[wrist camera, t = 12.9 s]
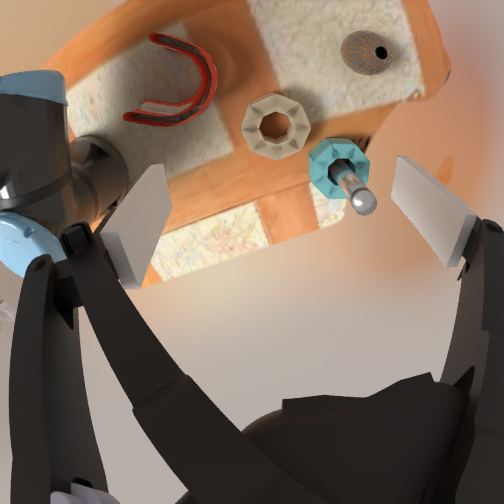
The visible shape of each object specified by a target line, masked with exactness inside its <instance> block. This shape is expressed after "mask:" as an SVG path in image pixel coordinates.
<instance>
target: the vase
mask: <svg viewBox="0 0 504 504" xmlns="http://www.w3.org/2000/svg"><path fill="white" fill-rule="evenodd" d="M341 55H342V58H343V60H344V62H345V63H346V64H347V66H348V67H349V68H351V69H352V70H353V71H355V72H357V73H360V74H363V75H377V74H380V73H382V72H383V71H385V70H386V69H387V68H388V67H389V65H390V63H391V60H392V53H391V49H390V47H389V45H388V44H387V42H386V41H385V40H384V39H383V38H382V37H380V36H379V35H377V34H375V33H372V32H368V31H358V32H354V33H352V34H350V35H348V36H347V37H346V38H345V39H344V41H343V43H342V45H341Z"/></svg>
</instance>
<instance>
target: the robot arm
mask: <svg viewBox="0 0 504 504" xmlns="http://www.w3.org/2000/svg"><path fill="white" fill-rule="evenodd" d="M67 106H68V102H67V101H66V86H65V78H64V76H63V75H62V74H61V73H60V72H58V71H55V70H34V71H24V72H18V73H12V74H8V75H4V76H0V260H1V261H2V262H3V263H4V264H5V265H6V266H7V267H8V268H9V269H10V270H12V271H13V272H14V273H16V274H17V275H19V276H21V277H22V278H24V280H23V284H22V288H21V293H20V298H19V302H18V308H17V313H16V319H15V325H14V332H13V341H12V348H11V359H10V375H9V423H10V438H11V448H12V455H13V461H12V473H11V497H10V498H11V500H10V504H120V503H119V502H118V501H117V500H116V499H115V498H114V497H113V496H111V495H110V494H109V492H108V487H107V482H106V475H105V471H104V468H103V464H102V460H101V456H100V453H99V449H98V446H97V442H96V438H95V434H94V430H93V425H92V421H91V416H90V411H89V406H88V400H87V395H86V388H85V382H84V375H83V368H82V360H81V359H82V358H81V349H80V337H79V319H78V307H80V306H84V308H85V311H86V313H87V316H88V318H89V320H90V322H91V325H92V327H93V330H94V332H95V334H96V336H97V339H98V341H99V343H100V345H101V347H102V349H103V351H104V353H105V356H106V358H107V360H108V362H109V363H110V366H111V367H112V369H113V371H114V373H115V375H116V377H117V379H118V381H119V382H120V384H121V386H122V388H123V389H124V391H125V393H126V395H127V396H128V398H129V400H130V402H131V403H132V405H133V409H132V411H133V414H134V416H135V418H136V419H137V421H138V423H139V424H140V426H141V427H142V429H143V431H144V432H145V433H146V435H147V436H148V438H149V439H150V441H151V442H152V444H153V445H154V447H155V448H156V450H157V451H158V452H159V454H160V455H161V456H162V458H163V459H164V460H165V462H166V463H167V464H168V466H169V467H170V468H171V470H172V471H173V472H174V473H175V475H176V476H177V477H178V478H179V480H180V481H181V482H182V483H183V484H184V486H185V487H186V488H187V489H188V491H187V492H186V493H185V494H184V495H183V497H181V498H180V499H179V500H178V501H177V502H176V503H175V504H504V231H503V229H502V228H501V227H500V226H499V225H498V224H497V223H496V222H494V221H491V220H488V219H483V220H481V219H480V218H479V217H478V216H477V214H476V213H475V212H474V211H473V210H472V209H470V207H468V206H467V205H466V204H465V203H464V202H463V201H462V200H461V199H460V198H458V197H457V196H456V195H455V194H454V193H453V192H452V191H451V190H450V189H448V188H447V187H446V186H445V185H444V184H443V183H441V182H440V181H439V180H438V179H436V178H435V177H434V176H433V175H431V174H430V173H429V172H428V171H426V170H425V169H424V168H422V167H421V166H420V165H419V164H417V163H416V162H415V161H413V160H412V159H411V158H409V157H406V156H397V162H396V169H395V175H394V181H393V187H392V193H391V198H392V200H393V201H394V202H395V203H396V204H397V205H398V207H399V208H400V209H401V210H402V211H403V212H404V214H405V215H406V216H407V217H408V218H409V220H410V221H411V222H412V223H413V224H414V226H415V227H416V228H417V229H418V231H419V232H420V233H421V234H422V236H423V237H424V238H425V240H426V241H427V242H428V243H429V245H430V246H431V248H432V249H433V250H434V251H435V253H436V254H437V256H438V257H439V258H440V260H441V261H442V263H443V264H444V265H445V267H455V266H458V264H459V261H460V259H461V256H463V257H464V258H465V259H466V262H465V264H464V266H463V269H462V271H461V273H460V275H459V277H458V279H457V280H458V281H459V280H460V278H462V281H461V289H460V296H459V302H458V309H457V314H456V320H455V325H454V330H453V334H452V339H451V343H450V347H449V351H448V355H447V359H446V362H445V366H444V369H443V373H442V376H441V379H440V381H439V382H434V380H433V378H432V375H431V373H430V372H428V373H425V374H422V375H418V376H414V377H411V378H407V379H403V380H400V381H398V382H396V383H394V384H392V385H390V386H389V387H387V388H385V389H383V390H381V391H379V392H377V393H376V394H373V395H371V396H369V397H364V398H360V397H344V396H330V395H319V396H311V397H302V398H293V399H283V400H282V408H281V409H280V410H277V411H274V412H271V413H269V414H266V415H264V416H262V417H260V418H259V419H257V420H255V421H254V422H252V423H251V424H250V425H248V426H247V427H246V428H245V429H243V430H242V431H239V429H238V428H237V427H235V425H234V424H233V423H232V422H231V421H230V420H229V419H228V418H227V417H226V416H225V415H224V414H223V413H222V412H221V411H220V410H219V408H217V406H216V405H215V404H214V403H213V402H212V401H211V400H210V399H209V397H208V396H207V395H206V394H205V393H204V392H203V391H202V390H201V389H200V387H199V386H198V385H197V384H196V383H195V382H194V381H193V379H192V378H191V377H190V376H189V375H186V374H184V373H183V371H182V370H181V369H180V368H179V367H178V365H177V364H176V363H175V362H174V360H173V359H172V358H171V356H170V355H169V354H168V352H167V351H166V350H165V348H164V347H163V346H162V344H161V343H160V342H159V340H158V339H157V338H156V336H155V335H154V333H153V332H152V331H151V329H150V328H149V326H148V325H147V324H146V322H145V321H144V319H143V318H142V316H141V315H140V313H139V312H138V311H137V309H136V307H135V306H134V304H133V303H132V301H131V300H130V298H129V297H128V295H127V294H126V292H125V291H124V289H140V288H141V285H142V283H143V280H144V277H145V274H146V272H147V269H148V266H149V264H150V261H151V258H152V256H153V253H154V251H155V248H156V246H157V243H158V241H159V238H160V236H161V233H162V231H163V228H164V226H165V223H166V221H167V219H168V216H169V214H170V212H171V209H172V203H171V199H170V194H169V189H168V184H167V179H166V174H165V169H164V164H163V163H161V164H154V165H150V166H149V167H148V169H147V170H146V171H145V172H144V174H143V175H142V176H141V177H140V179H139V180H138V181H137V182H136V184H135V185H134V186H133V187H132V189H131V190H130V191H129V193H128V194H127V195H126V197H125V198H124V196H125V194H126V191H127V187H128V172H127V168H126V165H125V162H124V160H123V158H122V156H121V155H120V153H119V152H118V151H117V149H116V148H115V147H114V146H113V145H111V144H110V143H109V142H107V141H105V140H103V139H101V138H98V137H94V136H85V137H80V138H78V139H75V140H74V141H72V142H70V143H69V137H68V121H67ZM123 198H124V199H123ZM122 200H123V201H122ZM121 201H122V202H121ZM119 204H120V205H119ZM118 205H119V206H118ZM117 207H118V208H117ZM103 217H104V218H103ZM101 218H103V220H102V222H101V223H100V224H99V225H98V227H97V228H96V230H95V231H94V232H93V234H92V231H91V228H90V226H91V225H92V224H93V222H95V221H97V220H99V219H101ZM118 279H119V280H120V282H121V284H120V283H119V281H118ZM121 285H122V286H121Z"/></svg>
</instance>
